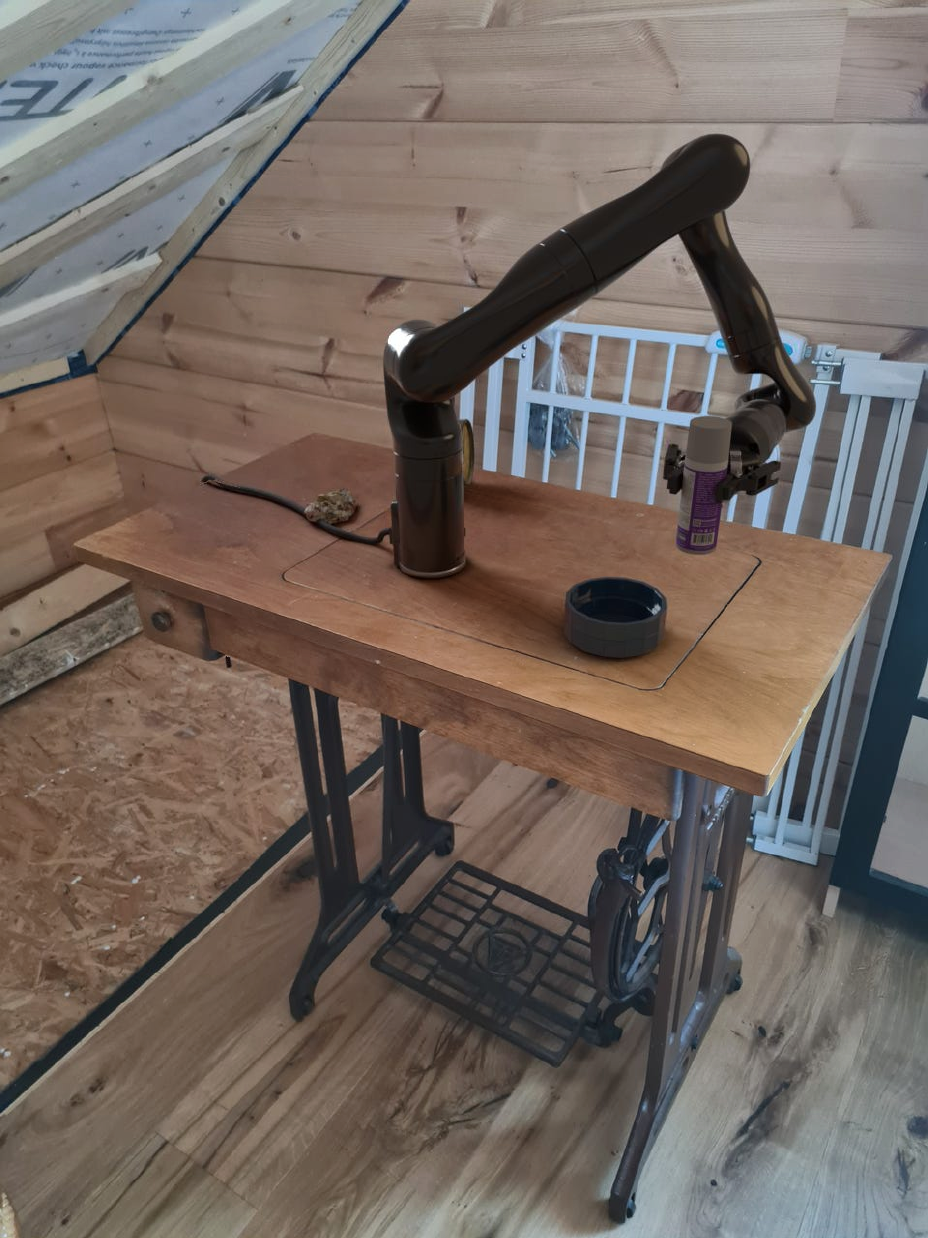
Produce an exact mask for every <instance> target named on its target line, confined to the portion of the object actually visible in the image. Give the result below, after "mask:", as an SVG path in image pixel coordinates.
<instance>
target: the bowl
mask: <svg viewBox="0 0 928 1238" xmlns="http://www.w3.org/2000/svg"><path fill="white" fill-rule="evenodd" d="M667 613H668V601H667V597H666V596H665V594H663V592H662V591H661V590H659V589H658V588H657V587H655V586H653V585H651V584H649V583H647V582H645V581H641V580H637V579H632V578H629V577H618V576H602V577H594V578H589V579H585V580H582V581H581V582H578V583H576V584H573V586H571V587H570V589H568V590H567V591H566V592H565V600H564V620H563V635H564V636H565V637H566V639H567V640H568V642H569V643H570V644H571V645H573V646H574V647H577V648H578V649H580V650H581V651H583V652H586V653H589V654H592V655H594V656H597V657H598V656H599V657H604V658H610V659H623V658H626V659H627V658H632V657H636V656H643V655H645V654H647V653H648V654H649V653H650V652H652V651H654V650H656V649H657V648H659V647H660V645H661V644H662V643H663V641H664V640H665V634H666V633H665V632H666V624H667V623H666V622H667Z"/></svg>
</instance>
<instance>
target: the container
mask: <svg viewBox="0 0 928 1238" xmlns="http://www.w3.org/2000/svg"><path fill="white" fill-rule="evenodd" d="M725 418H726V417H721V416H715V415H714V416H713V415H703V416H702V415H701V416H696V417H693V418H691V419H690V421H689V427H688V435H687V441H686V442H687V443H686V449H685V451H686V456H685V463H684V472H683V481H682V489H681V490H680V491H681V492H680V499H679V500H680V501H679V509H678V518H677V519H678V520H677V529H676V537H675V547H676V548H677V550H679V551H680V552H682V553H685V554H688V555H692V556H693V555H694V556H695V555H696V556H704V555H705V556H706V555H710V554H712V553H714V552H715V551H716V550H717V546H718V538H719V531H720V523H721V516H722V510H723V503H722V504H721V503H716V502H715V500H716V492H717V486H718V484H719V483H720V482H721V481H722V480H723V478H725V477H726V473H727V465H728V455H729V446H730V437H731V427H732V423H731V421H729V420H727V419H725Z"/></svg>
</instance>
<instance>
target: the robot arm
mask: <svg viewBox="0 0 928 1238" xmlns="http://www.w3.org/2000/svg"><path fill="white" fill-rule="evenodd" d="M750 176H751V158H750V154H749V152H748V150H747V148H746V147H745V145H744V144H743V143H742V142H741V141H740V140H739V139H738V138H735V137H734V136H731V135H729V134H726V133H725V134H724V133H707V134H704V135H700V136H698V137H696V138H693V139H692V140H690V141H689V142H687V143H685V144H684V145H682V146H680V147H678V148H676V149H675V150H674V151H672V152H671V153H670V154H669V155H668V156H667V157H666V158H665V160H664V161H663V162H662V164H661V166H660V169H659V171H658V172H657V173H655V174H654V175H653V176H651V177H650V178H649V179H648V180H646V181H645V182H644V183H642V184H641V185H639V186H637V187H636V188H635V189H633V190H631V191H630V192H627V193H626V194H623V195H621V196H619V197H617V198H615V199H613V200H611V201H608V202H607V203H605V204H602V205H601V206H598V207H595V208H594V209H592V210H590V211H588V212H587V213H584V214H583V215H581V216H579V217H577V218H576V219H574V220H572V221H570V222H568V223H567V224H565V225H563V226H562V227H560V228H558V229H557V230H556V231H554V232H552V233H551V234H549V235H548V236H547V237H545V238H544V239H542V240H540V242H538V243H536V244H534V245H533V246H532V247H531V248H530V249H528V250H527V251H526V252H525V253H523V254H522V255H521V256H520V257H519V258H518V259H517V260H516V261H515V263H513V265H512V266H510V268H509V269H508V271H507V272H506V273H505V274H504V276H502V278H500V280H499V281H498V283H497V285H495V286H494V288H493V289H492V290H491V291H490V292H489V293H488V294H487V295H486V296H485V297H484V298H482V299H481V300H480V301H479V302H477V303H476V304H475V305H474V306H472V307H470V308H469V309H467V310H465V311H463V312H462V313H460V314H459V315H457V316H456V317H454V318H451V319H450V320H448V321H446V322H443V323H442V324H439V325H438V324H436V323H434V322H432V321H429V320H427V319H420V318H419V319H415V318H414V319H409V320H407V321H404V322H402V323H401V324H399V325H397V327H395V328H394V329H393V330H392V331H391V333H390V334H389V336H388V337H387V340H386V342H385V345H384V348H383V355H382V369H383V370H382V371H383V383H384V384H383V385H384V396H385V407H386V418H387V423H388V428H389V430H390V434H391V440H392V450H393V451H392V452H393V467H394V481H395V482H394V483H395V498H396V499H394V500H393V501H391V503H390V518H391V519H390V520H391V526H390V527H387V528H383V529H381V530H380V531H379V532H378V534H377V537H366V536H362V535H357V534H355V533H352V532H349V531H347V530H344V529H341V528H339V527H336V526H334V525H332V524H328V523H326V522H325V521H323V520H321V519H319V520H317V521H315V522H314V523H316V524H317V525H318V526H320V527H321V528H323V529H324V530H327V531H328V532H330V533H332V534H335V535H338V536H340V537H342V538H345V539H347V540H350V541H354V542H358V543H361V544H362V543H363V544H367V545H378V544H380V543H382V542H383V541H384V539H385V537H386V536H388V537H389V544H390V545H392V551H393V565H394V566H396V567H399V568H400V570H401V571H402V572H404V573H405V574H407V575H409V576H412V577H415V578H421V579H440V578H446V577H450V576H453V575H456V574H457V573H460V572H461V571H462V570H463V569H465V566H466V550H465V538H466V536H467V535H466V527H465V502H464V501H465V496H464V495H465V494H464V493H465V492H464V486H463V448H462V429H461V426H460V423H459V420H458V419H459V418H458V414H457V411H456V406H454V399H453V397H455V396H457V395H459V394H460V393H461V392H462V391H463V390H464V389H466V388H467V387H468V386H470V385H471V384H472V383H473V382H474V381H475V380H476V379H478V378H479V377H480V376H481V375H483V373H485V372H486V371H488V369H489V368H491V367H493V365H494V364H496V363H497V362H498V361H499V360H501V359H502V358H503V357H504V356H505V355H507V354H508V353H510V352H511V351H512V350H514V349H516V348H517V347H519V346H520V345H522V344H523V343H526V342H527V341H528V340H530V339H532V338H533V337H534V336H536V335H538V334H539V333H541V332H542V331H544V330H546V329H547V328H548V327H550V326H551V325H552V324H554V323H555V322H557V321H558V320H561V319H562V318H564V317H566V316H567V315H569V314H570V313H572V312H573V311H575V310H576V309H578V308H579V307H581V306H582V305H584V304H586V303H587V302H588V301H590V300H591V299H593V298H595V297H596V296H597V295H598V294H600V293H601V292H602V291H604V290H605V289H607V288H608V287H609V286H611V285H612V284H613V283H615V282H617V280H619V279H620V278H622V277H623V276H624V275H625V274H627V273H628V272H630V271H631V270H632V269H633V268H635V267H636V266H637V265H638V264H640V263H641V262H642V261H644V260H645V258H647V257H648V256H649V255H650V254H651V253H653V252H655V250H656V249H658V248H659V247H660V246H662V245H664V244H665V243H666V242H668V241H670V240H671V239H673V238H674V237H676V236H678V237H679V239H680V240H681V242H682V244H683V247H684V248H685V251H686V253H687V255H688V257H689V259H690V261H691V263H692V265H693V268H694V269H695V271H696V273H697V274H696V275H697V276H698V278H699V280H700V283H701V285H702V287H703V289H704V292H705V294H706V297H707V299H708V301H709V304H710V308H711V310H712V313H713V315H714V318H715V322H716V324H717V326H718V330H719V333H720V337H721V338H722V339H721V340H722V342H723V345H724V348H725V352H726V353H727V356H728V360H729V364H730V366H731V368H732V370H733V372H734V373H735V374H736V375H741V376H749V375H764V376H766V377H768V378H769V379H770V380H772V381H773V382H772V383H769V384H765V385H762V386H759V387H755V388H752V389H749V390H747V391H745V392H743V393H741V394H739V395H738V396H737V398H736V399H735V401H734V407H733V409H734V410H733V412H732V413H730V414H728V415H727V416H726V417H724V418H725V419H727V420H729V421H731V423H732V427H731V437H730V446H729V455H728V465H727V473H726V477H725V478H723V480H722V481H721V482H720V483H719V484H718V486H717V492H716V500H715V502H716V503H721V504H722V505H723V503H724V502H725V501H731V500H732V499H733V498H734V496H737V495H739V494H740V492H745V495H747V496H751V497H754V496H757V495H759V494H761V493H762V492H764V491H766V490H768V489H771V488H772V487H774V486H775V485H778V484H779V480H780V474H781V468H782V462H781V461H779V460H771V461H769V462H767V461H768V460H769V459H770V458H771V456H772V454H773V452H774V451H775V449H776V447H777V446H778V445H779V444H780V442H781V441H782V440H783V438H784V437H785V434H787V433H790V432H794V431H798V430H801V429H804V428H806V427H808V426H810V425H811V424H812V422H813V420H814V418H815V415H816V411H817V402H816V397H815V394H814V392H813V390H812V387H810V385H809V384H808V382H807V380H806V379H805V378H804V376H803V375H802V373H801V372H800V371H799V369H798V368H797V366H796V365H795V363H794V361H793V360H792V358H791V356H790V355H789V353H788V352H787V351H788V350H786V347H785V346H784V343H783V340H782V337H781V334H780V330H779V328H778V325H777V321H776V318H775V315H774V312H773V309H772V306H771V304H770V301H769V299H768V296H767V294H766V292H765V290H764V288H763V287H762V285H761V284H760V282H759V281H758V279H757V278H756V275H754V273H753V271H752V270H751V268H750V266H749V265H748V264H747V263H746V261H745V260H744V258H743V255H742V254H741V253H740V251H739V249H738V247H737V245H736V243H735V241H734V238H733V235H732V232H731V229H730V227H729V223H728V220H727V214H726V211H727V210H728V209H730V207H731V206H733V205H734V204H735V203H736V202H737V201H738V200H739V199H740V197H741V196H742V194H743V193H744V191H745V189H746V188H747V185H748V182H749V179H750ZM685 456H686V450H683V449H682V448H680V447H679V444H676V443H670V444H668V445H667V449H666V453H665V456H664V463H663V474H662V479H663V480H664V481H666V490H668V493H669V494H670V495H674V496H677V494H678V493H680V491H681V490H682V481H683V472H684V463H685ZM217 478H218V477H217V476H216V475H214V474H210V473H209V474H206V475H203V477H202V478H201V480H200V483H207V482H209V481H212V482H214V483H215V484H217V485H218V486H220V487H222V488H224V489H227V490H231V491H236V492H241V493H246V494H247V493H248V494H251V495H256V496H260V497H263V498H266V499H270V500H272V501H275V502H277V503H280V504H282V505H285V506H287V507H289V508H291V509H293V510H295V511H297V512H298V513H300V514H302V515H303V516H304V517H305V516H307V515H306V514H304V509H305V507H303V506H301V505H300V504H298V503H296V502H295V501H292V500H290V499H288V498H285V497H283V496H281V495H278V494H275V493H274V492H273V493H272V492H269V491H266V490H263V489H259V488H254V487H250V486H244V485H241V484H240V485H239V484H236V485H237V486H238V487H234V486H230V485H226V484H222V483H218V482H215V481H213V480H215V479H217ZM219 480H222V479H220V478H219V479H218V481H219ZM222 481H223V480H222ZM222 481H221V482H222ZM231 484H232V485H234V483H231ZM239 487H240V488H239ZM224 659H225V665H226V668H227V669H231V668H232V666H233V665H232V659H231V656H230V657H227V656H226V657H225V656H224Z"/></svg>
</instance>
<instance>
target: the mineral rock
mask: <svg viewBox="0 0 928 1238" xmlns="http://www.w3.org/2000/svg"><path fill="white" fill-rule="evenodd" d="M356 507H357V503H356V500H355V499H354V495H353V494H352V491H349V490H348V489H346V488H339V489H335V490H334V491H329V492H328V493H326V494H325V493H324V494H323V493H318V495H317V498H316V499H315V501H313V502H309V503H307V504H306V505H305V506H304V508H305V509H304V514H306V515H307V516H305V515H304V517H305V518H307V520H308V522H309V521H310V522H313V523H316V522H315V521H317V520H319V519H321V520H323V521H325V522H326V523H328V524H330V525H332V524H337V523H340V522H346V521H348V520H349V517H352V515H353V514H354V513H355V511H356Z"/></svg>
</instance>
